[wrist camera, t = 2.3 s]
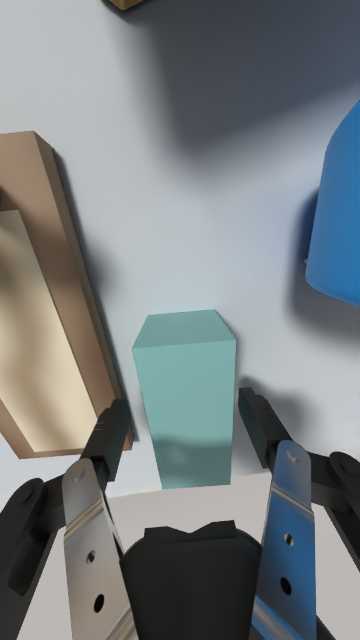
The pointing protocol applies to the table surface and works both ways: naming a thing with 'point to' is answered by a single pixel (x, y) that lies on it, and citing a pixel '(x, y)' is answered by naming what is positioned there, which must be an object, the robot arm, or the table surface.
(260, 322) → the table surface
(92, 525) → the robot arm
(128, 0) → the decorative box
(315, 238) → the alarm clock
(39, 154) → the board
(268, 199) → the table surface
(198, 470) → the teal rectangular prism
